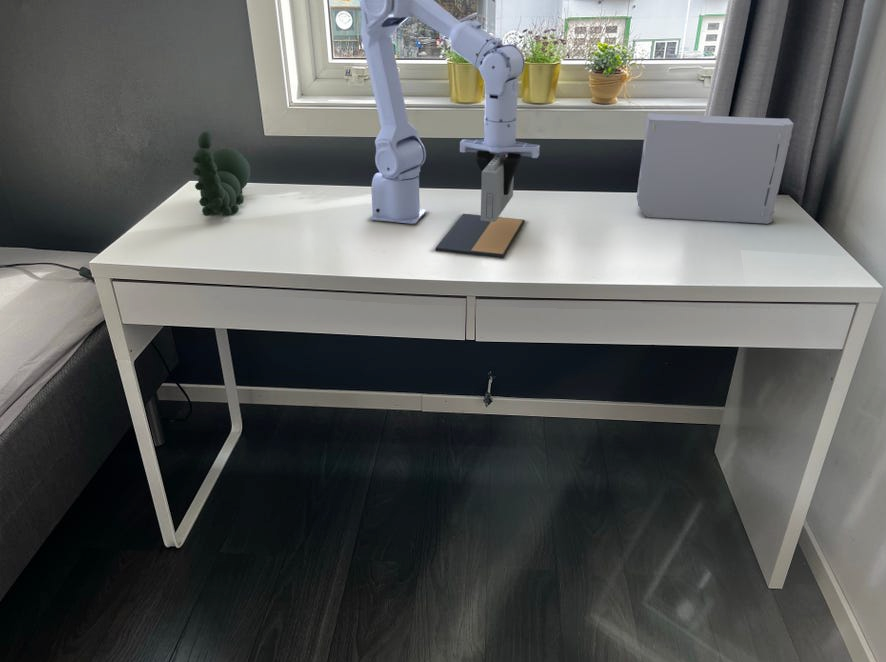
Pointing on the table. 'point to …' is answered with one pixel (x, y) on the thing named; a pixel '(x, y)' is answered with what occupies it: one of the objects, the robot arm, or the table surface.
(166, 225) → the table surface
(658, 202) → the game console
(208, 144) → the toy figurine
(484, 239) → the desk mat
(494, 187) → the cassette player
